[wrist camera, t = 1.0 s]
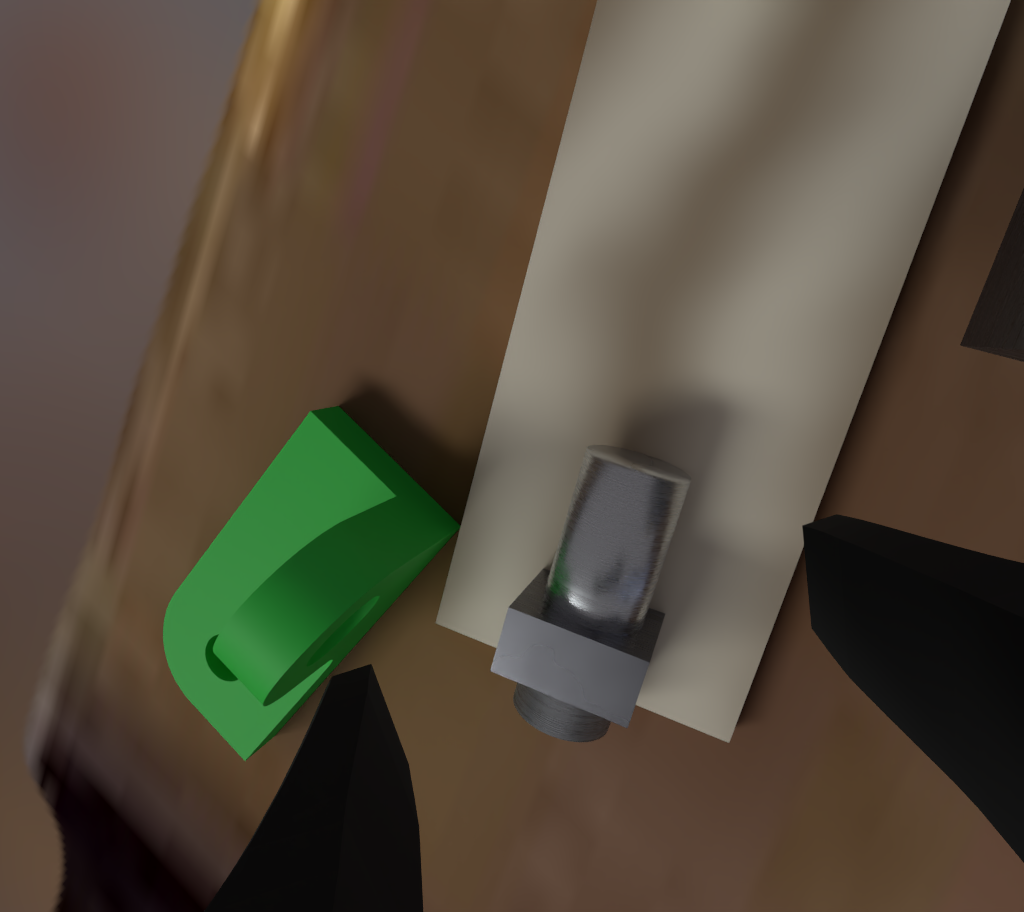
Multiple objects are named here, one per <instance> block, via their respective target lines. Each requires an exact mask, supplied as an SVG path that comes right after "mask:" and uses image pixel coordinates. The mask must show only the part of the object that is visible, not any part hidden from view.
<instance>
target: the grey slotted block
mask: <svg viewBox="0 0 1024 912" xmlns="http://www.w3.org/2000/svg"><path fill="white" fill-rule="evenodd" d="M960 345H961V346H965V347H968V348H972V349H976V350H980V351H984V352H988V353H992V354H995V355H999V356H1003V357H1007V358H1011V359H1015V360H1019V361H1023V362H1024V189H1023V191H1022V194H1021V196H1020V199H1019V201H1018V204H1017V206H1016V209H1015V211H1014V213H1013V216H1012V218H1011V221H1010V223H1009V226H1008V228H1007V231H1006V233H1005V236H1004V238H1003V241H1002V243H1001V246H1000V248H999V250H998V253H997V255H996V258H995V260H994V263H993V265H992V268H991V270H990V273H989V275H988V278H987V280H986V283H985V285H984V287H983V290H982V292H981V295H980V297H979V300H978V302H977V305H976V307H975V310H974V312H973V315H972V317H971V320H970V322H969V325H968V327H967V329H966V332H965V334H964V337H963V339H962V342H961V344H960Z"/></svg>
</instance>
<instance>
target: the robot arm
mask: <svg viewBox="0 0 1024 912" xmlns="http://www.w3.org/2000/svg"><path fill="white" fill-rule="evenodd" d="M802 528H803V539H804V550H805V561H806V572H807V582H808V593H809V604H810V615H811V626H812V629H813V631H814V632H815V633H816V635H817V636H818V637H819V639H820V640H821V641H822V643H823V644H824V645H825V647H826V648H827V649H828V651H829V652H830V654H831V655H832V656H833V657H834V659H835V660H836V661H837V662H838V664H839V665H840V666H841V668H842V669H843V670H844V671H845V673H846V674H847V675H848V676H849V678H850V679H851V680H852V681H853V682H854V683H855V684H856V685H857V686H858V687H859V688H860V689H861V690H862V691H863V692H864V693H865V694H866V695H867V696H868V697H869V698H870V699H871V700H872V701H873V702H874V703H875V704H876V705H877V706H878V707H879V708H880V709H881V710H882V711H883V712H884V713H885V714H886V715H887V716H888V717H889V718H890V719H891V720H892V721H893V722H894V723H895V724H896V725H897V726H898V727H899V728H900V729H901V730H902V731H903V732H904V733H905V734H906V735H907V736H908V737H909V738H910V739H911V740H912V741H913V742H914V743H915V744H916V745H917V746H918V747H919V748H920V749H921V750H922V751H923V752H924V753H925V754H926V755H927V756H928V757H929V758H930V759H931V760H932V761H933V762H934V763H935V764H936V765H937V766H938V767H939V768H940V769H941V770H942V771H943V772H944V773H945V774H946V775H947V776H948V777H949V778H950V779H951V780H952V781H953V782H954V783H955V784H956V785H957V786H958V787H959V788H960V789H961V790H962V791H963V792H964V793H965V794H966V795H967V797H968V798H969V799H970V800H971V801H972V802H973V803H974V804H975V805H976V806H977V807H978V808H979V810H980V811H981V812H982V813H983V814H984V815H985V817H986V818H987V819H988V820H989V821H990V823H991V824H992V825H993V826H994V827H995V829H996V830H997V831H998V832H999V833H1000V835H1001V836H1002V837H1003V838H1004V839H1005V841H1006V842H1007V843H1008V844H1009V845H1010V847H1011V848H1012V849H1013V850H1014V851H1015V853H1016V854H1017V855H1018V856H1019V857H1020V859H1021V860H1022V861H1023V862H1024V563H1020V562H1016V561H1012V560H1007V559H1003V558H999V557H995V556H991V555H987V554H984V553H980V552H976V551H972V550H968V549H965V548H961V547H957V546H954V545H950V544H946V543H943V542H939V541H935V540H932V539H928V538H925V537H921V536H918V535H914V534H911V533H907V532H904V531H900V530H897V529H893V528H890V527H886V526H882V525H879V524H875V523H871V522H868V521H864V520H860V519H856V518H851V517H847V516H842V515H833V516H830V517H827V518H824V519H821V520H818V521H815V522H812V523H808V524H805V525H802ZM204 912H423V896H422V875H421V855H420V836H419V824H418V817H417V811H416V805H415V798H414V793H413V787H412V781H411V775H410V769H409V764H408V761H407V758H406V756H405V753H404V750H403V748H402V745H401V742H400V740H399V737H398V734H397V732H396V729H395V726H394V724H393V721H392V718H391V716H390V713H389V710H388V708H387V705H386V702H385V700H384V697H383V694H382V692H381V689H380V686H379V684H378V681H377V678H376V675H375V673H374V670H373V667H372V665H371V664H370V665H367V666H364V667H360V668H357V669H354V670H351V671H348V672H345V673H342V674H339V675H335V676H332V678H331V680H330V681H329V683H328V685H327V687H326V689H325V692H324V694H323V696H322V699H321V701H320V703H319V706H318V708H317V710H316V713H315V715H314V717H313V719H312V722H311V724H310V726H309V728H308V731H307V733H306V735H305V737H304V739H303V742H302V744H301V746H300V748H299V750H298V752H297V754H296V756H295V758H294V760H293V762H292V764H291V766H290V768H289V770H288V772H287V774H286V776H285V778H284V781H283V783H282V784H281V786H280V788H279V790H278V792H277V794H276V796H275V798H274V799H273V801H272V803H271V805H270V807H269V808H268V810H267V812H266V814H265V816H264V817H263V819H262V821H261V823H260V825H259V826H258V828H257V830H256V832H255V834H254V835H253V837H252V839H251V841H250V842H249V844H248V846H247V847H246V849H245V850H244V852H243V854H242V855H241V857H240V859H239V860H238V862H237V864H236V865H235V867H234V868H233V870H232V871H231V873H230V874H229V876H228V878H227V879H226V881H225V882H224V883H223V885H222V886H221V888H220V889H219V891H218V892H217V894H216V895H215V897H214V898H213V900H212V901H211V903H210V904H209V905H208V907H207V908H206V910H205V911H204Z"/></svg>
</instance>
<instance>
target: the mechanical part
mask: <svg viewBox="0 0 1024 912" xmlns="http://www.w3.org/2000/svg"><path fill="white" fill-rule="evenodd" d="M460 527H461V526H460V525H459V524H458V523H457V522H456V521H455V520H454V519H453V518H452V517H451V516H450V515H449V514H448V513H447V512H446V511H445V510H444V509H443V508H442V507H441V506H440V505H439V504H438V503H437V502H436V501H435V500H434V499H433V498H432V497H431V496H430V495H429V494H428V493H427V492H426V491H425V490H424V489H422V488H421V487H420V486H419V485H418V484H417V483H416V482H415V481H414V480H413V479H412V478H411V477H410V476H409V475H408V474H407V473H406V472H405V471H404V470H403V469H402V468H401V467H400V466H399V465H398V464H397V463H396V462H395V461H394V460H393V459H392V458H391V457H390V456H389V455H388V454H387V453H386V452H385V451H384V450H383V449H382V448H381V447H380V446H379V445H378V444H377V443H376V442H375V441H374V440H373V439H372V438H371V437H370V436H369V435H368V434H367V433H366V432H365V431H364V430H363V429H361V428H360V427H359V426H358V425H357V424H356V423H355V422H354V421H353V420H352V419H351V418H350V417H349V416H348V415H347V414H346V413H345V412H344V411H343V410H342V409H341V408H340V407H339V406H336V407H330V408H325V409H319V410H314V411H310V412H309V414H308V415H307V416H306V418H305V419H304V420H303V422H302V423H301V424H300V426H299V427H298V429H297V430H296V431H295V433H294V434H293V435H292V437H291V438H290V439H289V441H288V442H287V443H286V445H285V446H284V447H283V449H282V450H281V451H280V453H279V454H278V455H277V457H276V458H275V459H274V461H273V462H272V463H271V465H270V466H269V467H268V469H267V470H266V471H265V473H264V474H263V476H262V477H261V478H260V480H259V481H258V482H257V484H256V485H255V486H254V488H253V489H252V490H251V492H250V493H249V494H248V496H247V497H246V498H245V500H244V501H243V502H242V504H241V505H240V506H239V508H238V509H237V510H236V512H235V513H234V514H233V516H232V517H231V518H230V520H229V521H228V523H227V524H226V525H225V527H224V528H223V529H222V531H221V532H220V533H219V535H218V536H217V537H216V539H215V540H214V541H213V543H212V544H211V545H210V547H209V548H208V549H207V551H206V552H205V553H204V555H203V556H202V557H201V559H200V560H199V561H198V563H197V564H196V565H195V567H194V568H193V570H192V571H191V572H190V574H189V575H188V576H187V578H186V579H185V580H184V582H183V583H182V584H181V586H180V587H179V588H178V590H177V591H176V592H175V594H174V595H173V597H172V599H171V601H170V603H169V605H168V608H167V611H166V615H165V619H164V626H163V642H164V649H165V654H166V658H167V662H168V665H169V667H170V670H171V672H172V675H173V677H174V679H175V681H176V682H177V684H178V686H179V687H180V689H181V690H182V692H183V693H184V695H185V696H186V697H187V698H188V699H189V701H190V702H191V703H192V704H193V705H194V706H195V707H196V708H197V709H198V710H199V711H200V713H201V714H202V715H203V716H204V717H205V718H206V719H207V720H208V721H209V722H210V723H211V725H212V726H213V727H214V728H215V729H216V730H217V731H218V732H219V733H220V734H221V735H222V736H223V738H224V739H225V740H226V741H227V742H228V743H229V744H230V745H231V746H232V747H233V748H234V749H235V751H236V752H237V753H238V754H239V755H240V756H241V757H242V758H243V759H244V760H245V761H246V760H247V759H248V758H249V757H250V756H252V755H253V754H254V753H255V752H256V751H257V750H259V749H260V748H261V747H262V746H263V745H265V744H266V743H267V742H268V741H269V740H271V739H272V738H273V737H274V736H275V735H276V734H277V733H278V732H279V730H280V729H281V728H282V727H283V726H284V725H285V724H286V723H287V721H288V720H289V719H290V718H291V717H292V716H293V715H294V714H295V712H296V711H297V710H298V709H299V708H300V707H301V706H302V705H303V704H304V702H305V701H306V700H307V699H308V698H309V697H310V696H311V695H312V693H313V692H314V691H315V690H316V689H317V688H318V687H319V686H320V684H321V683H322V682H323V681H324V680H325V679H326V678H327V677H328V675H329V674H330V673H331V672H332V671H333V670H334V669H335V668H336V666H337V665H338V664H339V663H340V662H341V661H342V660H343V659H344V657H345V656H346V655H347V654H348V653H349V652H350V651H351V650H352V648H353V647H354V646H355V645H356V644H357V643H358V642H359V641H360V639H361V638H362V637H363V636H364V635H365V634H366V633H367V632H368V631H369V629H370V628H371V627H372V626H373V625H374V624H375V623H376V622H377V620H378V619H379V618H380V617H381V616H382V615H383V614H384V613H385V611H386V610H387V609H388V608H389V607H390V606H391V605H392V604H393V602H394V601H395V600H396V599H397V598H398V597H399V596H400V595H401V593H402V592H403V591H404V590H405V589H406V588H407V587H408V586H409V584H410V583H411V582H412V581H413V580H414V579H415V578H416V577H417V575H418V574H419V573H420V572H421V571H422V570H423V569H424V568H425V567H426V565H427V564H428V563H429V562H430V561H431V560H432V559H433V558H434V556H435V555H436V554H437V553H438V552H439V551H440V550H441V549H442V547H443V546H444V545H445V544H446V543H447V542H448V541H449V540H450V538H451V537H452V536H453V535H454V534H455V533H456V532H457V531H458V529H459V528H460Z"/></svg>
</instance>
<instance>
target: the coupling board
mask: <svg viewBox="0 0 1024 912" xmlns="http://www.w3.org/2000/svg"><path fill="white" fill-rule="evenodd" d="M1010 1H1011V0H597V4H596V8H595V12H594V16H593V20H592V23H591V27H590V31H589V35H588V39H587V43H586V47H585V50H584V54H583V58H582V62H581V66H580V70H579V73H578V77H577V81H576V85H575V89H574V93H573V97H572V100H571V104H570V108H569V112H568V116H567V120H566V123H565V127H564V131H563V135H562V139H561V143H560V147H559V150H558V154H557V158H556V162H555V166H554V170H553V173H552V177H551V181H550V185H549V189H548V193H547V197H546V200H545V204H544V208H543V212H542V216H541V220H540V223H539V227H538V231H537V235H536V239H535V243H534V247H533V250H532V254H531V258H530V262H529V266H528V270H527V273H526V277H525V281H524V285H523V289H522V293H521V297H520V300H519V304H518V308H517V312H516V316H515V320H514V323H513V327H512V331H511V335H510V339H509V343H508V347H507V350H506V354H505V358H504V362H503V366H502V370H501V374H500V377H499V381H498V385H497V389H496V393H495V397H494V400H493V404H492V408H491V412H490V416H489V420H488V424H487V427H486V431H485V435H484V439H483V443H482V447H481V450H480V454H479V458H478V462H477V466H476V470H475V474H474V477H473V481H472V485H471V489H470V493H469V497H468V500H467V504H466V508H465V512H464V516H463V520H462V524H461V527H460V531H459V535H458V539H457V543H456V547H455V550H454V554H453V558H452V562H451V566H450V570H449V574H448V577H447V581H446V585H445V589H444V593H443V597H442V600H441V604H440V608H439V612H438V616H437V620H436V623H437V624H439V625H442V626H444V627H446V628H449V629H451V630H454V631H456V632H459V633H461V634H464V635H466V636H469V637H471V638H473V639H476V640H478V641H481V642H483V643H486V644H488V645H491V646H493V647H495V648H497V646H498V642H499V639H500V635H501V632H502V628H503V625H504V621H505V618H506V614H507V610H508V607H509V606H510V605H511V604H512V603H513V601H514V600H515V599H516V598H517V597H518V596H519V595H520V594H521V593H522V591H523V590H524V589H525V588H526V587H527V586H528V585H529V584H530V583H531V581H532V580H533V579H534V578H535V577H536V576H537V575H538V574H539V573H540V571H541V570H542V569H543V568H544V569H547V570H549V571H550V570H551V567H552V564H553V560H554V557H555V553H556V550H557V547H558V543H559V540H560V536H561V533H562V530H563V526H564V523H565V519H566V516H567V513H568V509H569V506H570V502H571V499H572V496H573V492H574V489H575V486H576V482H577V479H578V475H579V472H580V469H581V465H582V462H583V458H584V455H585V452H586V448H587V447H588V446H590V445H607V446H614V447H619V448H623V449H628V450H632V451H635V452H639V453H642V454H645V455H648V456H651V457H654V458H657V459H660V460H662V461H665V462H667V463H669V464H671V465H674V466H676V467H678V468H679V469H681V470H683V471H684V472H686V473H687V474H688V475H689V476H690V477H691V482H690V485H689V488H688V491H687V494H686V497H685V500H684V503H683V506H682V509H681V512H680V515H679V518H678V521H677V524H676V527H675V530H674V533H673V536H672V539H671V542H670V545H669V548H668V551H667V554H666V557H665V560H664V563H663V566H662V569H661V572H660V575H659V578H658V581H657V584H656V587H655V590H654V593H653V596H652V599H651V602H650V605H649V608H651V609H654V610H657V611H659V612H662V613H665V617H664V620H663V623H662V626H661V629H660V632H659V635H658V639H657V642H656V645H655V648H654V651H653V654H652V657H651V660H650V663H649V666H648V669H647V672H646V675H645V678H644V681H643V684H642V687H641V690H640V693H639V696H638V699H637V702H636V704H635V705H638V706H640V707H643V708H645V709H647V710H650V711H652V712H655V713H657V714H660V715H662V716H665V717H667V718H669V719H672V720H674V721H677V722H679V723H682V724H684V725H687V726H689V727H692V728H694V729H696V730H699V731H701V732H704V733H706V734H709V735H711V736H714V737H716V738H718V739H721V740H723V741H726V742H728V743H729V742H730V739H731V736H732V734H733V731H734V729H735V726H736V723H737V721H738V718H739V715H740V713H741V710H742V707H743V705H744V702H745V700H746V697H747V694H748V692H749V689H750V686H751V684H752V681H753V678H754V676H755V673H756V671H757V668H758V665H759V663H760V660H761V657H762V655H763V652H764V649H765V647H766V644H767V642H768V639H769V636H770V634H771V631H772V628H773V626H774V623H775V621H776V618H777V615H778V613H779V610H780V607H781V605H782V602H783V599H784V597H785V594H786V592H787V589H788V586H789V584H790V581H791V578H792V576H793V573H794V570H795V568H796V565H797V563H798V560H799V557H800V555H801V552H802V549H803V547H804V539H803V528H802V525H805V524H808V523H812V522H813V520H814V518H815V515H816V512H817V510H818V507H819V505H820V502H821V499H822V497H823V494H824V491H825V489H826V486H827V483H828V481H829V478H830V476H831V473H832V470H833V468H834V465H835V462H836V460H837V457H838V455H839V452H840V449H841V447H842V444H843V441H844V439H845V436H846V433H847V431H848V428H849V426H850V423H851V420H852V418H853V415H854V412H855V410H856V407H857V404H858V402H859V399H860V397H861V394H862V391H863V389H864V386H865V383H866V381H867V378H868V375H869V373H870V370H871V368H872V365H873V362H874V360H875V357H876V354H877V352H878V349H879V346H880V344H881V341H882V339H883V336H884V333H885V331H886V328H887V325H888V323H889V320H890V317H891V315H892V312H893V310H894V307H895V304H896V302H897V299H898V296H899V294H900V291H901V288H902V286H903V283H904V281H905V278H906V275H907V273H908V270H909V267H910V265H911V262H912V260H913V257H914V254H915V252H916V249H917V246H918V244H919V241H920V238H921V236H922V233H923V231H924V228H925V225H926V223H927V220H928V217H929V215H930V212H931V209H932V207H933V204H934V202H935V199H936V196H937V194H938V191H939V188H940V186H941V183H942V180H943V178H944V175H945V173H946V170H947V167H948V165H949V162H950V159H951V157H952V154H953V151H954V149H955V146H956V144H957V141H958V138H959V136H960V133H961V130H962V128H963V125H964V122H965V120H966V117H967V115H968V112H969V109H970V107H971V104H972V101H973V99H974V96H975V94H976V91H977V88H978V86H979V83H980V80H981V78H982V75H983V72H984V70H985V67H986V65H987V62H988V59H989V57H990V54H991V51H992V49H993V46H994V43H995V41H996V38H997V36H998V33H999V30H1000V28H1001V25H1002V22H1003V20H1004V17H1005V14H1006V12H1007V9H1008V7H1009V4H1010Z"/></svg>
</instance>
